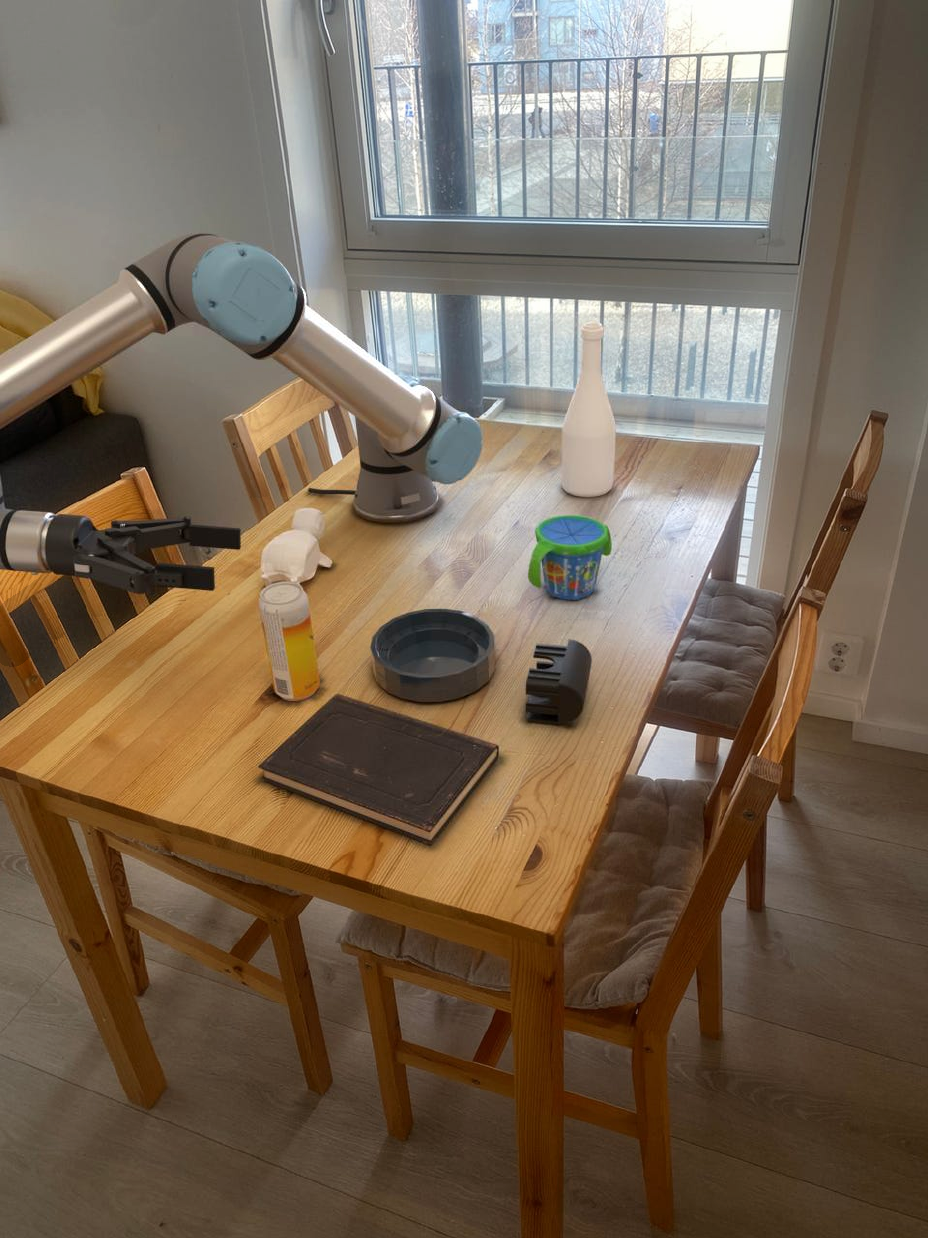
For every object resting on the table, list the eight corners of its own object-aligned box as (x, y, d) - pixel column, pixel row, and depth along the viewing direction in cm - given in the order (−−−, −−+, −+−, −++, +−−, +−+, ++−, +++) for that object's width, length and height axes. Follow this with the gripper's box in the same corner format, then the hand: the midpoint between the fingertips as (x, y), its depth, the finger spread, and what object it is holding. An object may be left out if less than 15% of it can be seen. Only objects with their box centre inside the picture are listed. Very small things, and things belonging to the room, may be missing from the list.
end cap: (582, 731, 115) (584, 686, 112) (525, 725, 117) (525, 680, 113) (591, 683, 124) (592, 640, 120) (537, 678, 125) (537, 635, 121)
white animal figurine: (314, 606, 149) (345, 535, 157) (298, 572, 142) (332, 499, 150) (265, 599, 151) (299, 529, 159) (247, 565, 144) (284, 494, 152)
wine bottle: (583, 473, 181) (588, 313, 165) (623, 486, 175) (632, 322, 159) (550, 489, 175) (552, 325, 159) (590, 503, 169) (596, 335, 153)
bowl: (348, 678, 127) (345, 650, 124) (426, 623, 138) (424, 596, 135) (444, 721, 118) (442, 692, 116) (519, 659, 129) (518, 631, 126)
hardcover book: (430, 846, 100) (429, 830, 99) (261, 780, 110) (258, 765, 109) (499, 757, 112) (499, 742, 111) (340, 705, 122) (338, 690, 120)
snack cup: (587, 560, 151) (589, 503, 146) (632, 587, 144) (635, 527, 138) (508, 591, 144) (507, 531, 139) (551, 620, 137) (551, 558, 131)
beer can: (328, 680, 126) (314, 583, 118) (307, 707, 122) (291, 607, 114) (288, 673, 128) (271, 577, 120) (266, 699, 123) (247, 601, 115)
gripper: (94, 537, 129) (249, 550, 130) (13, 613, 107) (202, 628, 107) (89, 484, 126) (249, 498, 127) (5, 551, 103) (199, 567, 104)
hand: (227, 558), depth 117 cm, fingers open, 13 cm apart
